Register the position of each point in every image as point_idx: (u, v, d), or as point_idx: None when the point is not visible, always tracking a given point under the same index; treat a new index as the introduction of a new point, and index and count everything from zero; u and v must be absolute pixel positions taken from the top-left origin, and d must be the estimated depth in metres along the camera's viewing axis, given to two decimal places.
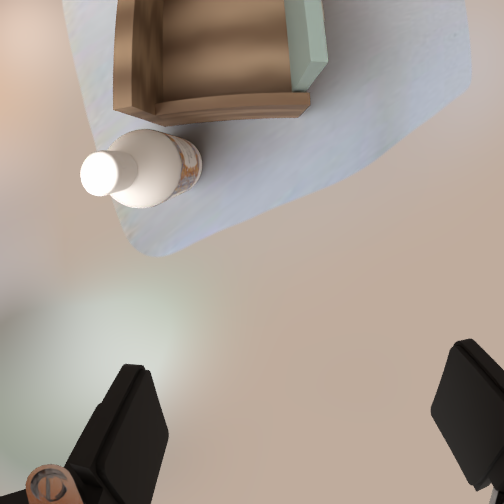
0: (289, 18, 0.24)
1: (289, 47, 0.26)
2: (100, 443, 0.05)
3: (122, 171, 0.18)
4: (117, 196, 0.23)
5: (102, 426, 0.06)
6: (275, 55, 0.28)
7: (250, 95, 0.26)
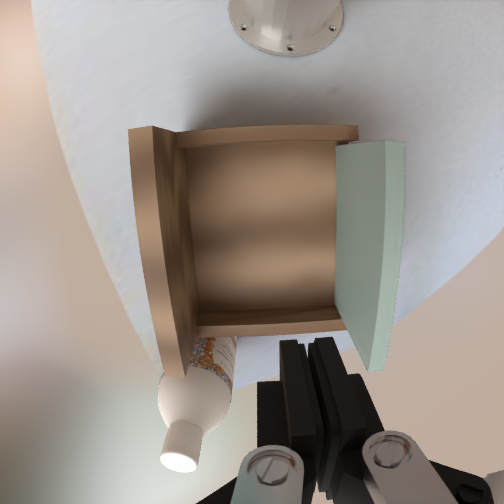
0: (344, 233, 0.25)
1: (338, 255, 0.28)
2: (311, 410, 0.06)
3: (198, 459, 0.20)
4: None
5: (301, 395, 0.07)
6: (320, 259, 0.29)
7: (295, 324, 0.28)
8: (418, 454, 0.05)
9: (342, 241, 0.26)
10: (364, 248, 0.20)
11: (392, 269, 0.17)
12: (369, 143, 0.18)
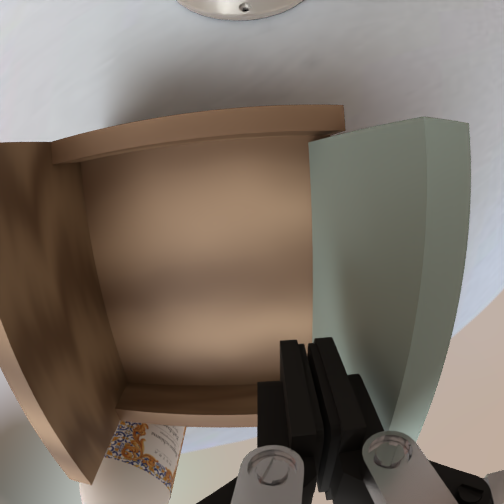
0: (324, 293, 0.15)
1: (315, 319, 0.18)
2: (311, 410, 0.06)
3: None
4: None
5: (301, 395, 0.07)
6: (288, 321, 0.19)
7: (249, 416, 0.18)
8: (419, 455, 0.05)
9: (321, 303, 0.16)
10: (357, 346, 0.10)
11: (413, 414, 0.07)
12: (374, 130, 0.07)
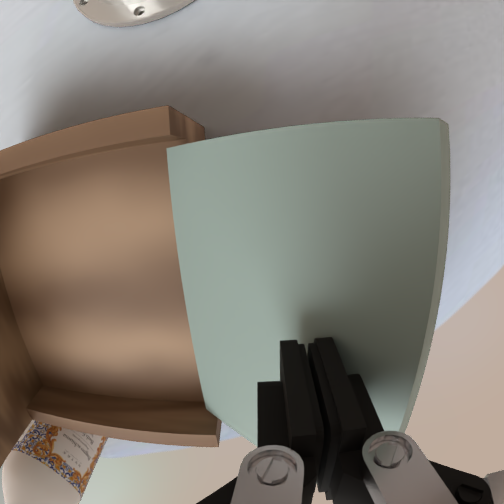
0: (219, 315, 0.13)
1: (200, 347, 0.16)
2: (311, 410, 0.06)
3: None
4: None
5: (301, 395, 0.07)
6: (164, 340, 0.17)
7: (129, 430, 0.16)
8: (419, 455, 0.05)
9: (213, 327, 0.14)
10: None
11: (417, 384, 0.08)
12: (342, 125, 0.07)
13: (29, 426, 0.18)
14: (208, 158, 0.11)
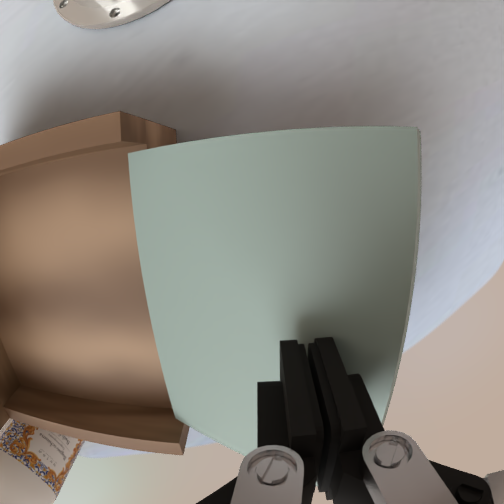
0: (188, 321, 0.13)
1: (166, 355, 0.15)
2: (311, 410, 0.06)
3: None
4: None
5: (301, 395, 0.07)
6: (129, 346, 0.17)
7: (97, 434, 0.15)
8: (418, 455, 0.05)
9: (181, 335, 0.14)
10: None
11: (396, 372, 0.09)
12: (322, 131, 0.08)
13: (8, 424, 0.17)
14: (175, 163, 0.11)
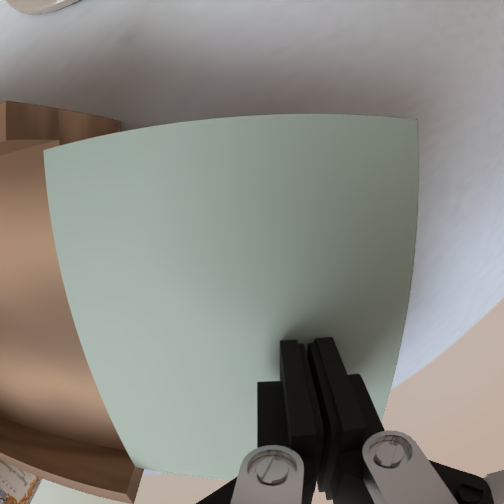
0: (147, 355, 0.10)
1: (116, 401, 0.11)
2: (312, 410, 0.06)
3: None
4: None
5: (301, 395, 0.07)
6: (66, 382, 0.12)
7: (44, 471, 0.11)
8: (418, 454, 0.05)
9: (137, 373, 0.10)
10: None
11: None
12: (329, 117, 0.07)
13: None
14: (124, 156, 0.08)
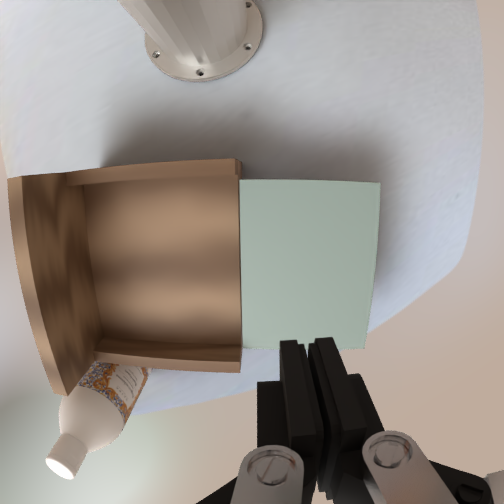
0: (275, 268, 0.26)
1: (250, 297, 0.27)
2: (311, 410, 0.06)
3: (75, 469, 0.18)
4: None
5: (301, 395, 0.07)
6: (210, 297, 0.28)
7: (179, 361, 0.27)
8: (418, 454, 0.05)
9: (267, 279, 0.26)
10: (336, 267, 0.25)
11: None
12: (350, 182, 0.24)
13: None
14: (279, 188, 0.24)
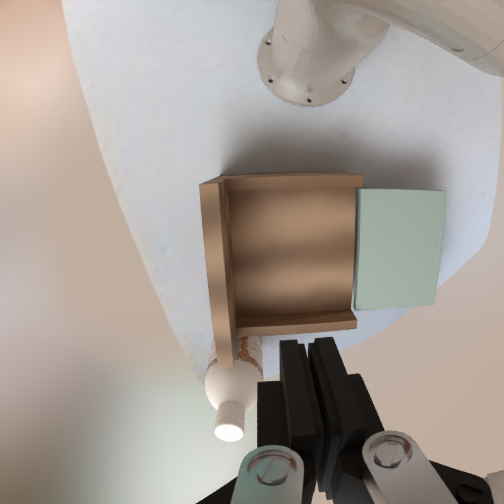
0: (381, 250, 0.35)
1: (364, 272, 0.36)
2: (311, 410, 0.06)
3: (243, 429, 0.28)
4: None
5: (301, 395, 0.07)
6: (332, 274, 0.37)
7: (313, 325, 0.36)
8: (419, 455, 0.05)
9: (376, 258, 0.35)
10: (418, 248, 0.34)
11: None
12: (428, 191, 0.32)
13: None
14: (386, 195, 0.33)
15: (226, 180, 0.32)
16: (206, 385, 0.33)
